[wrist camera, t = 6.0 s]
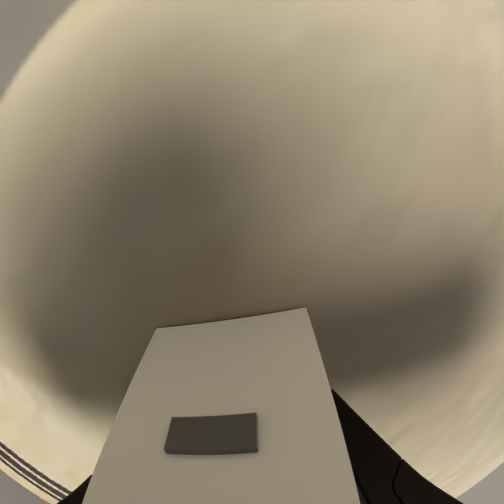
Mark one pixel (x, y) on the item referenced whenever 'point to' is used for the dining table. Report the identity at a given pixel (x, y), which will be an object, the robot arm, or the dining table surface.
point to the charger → (227, 420)
